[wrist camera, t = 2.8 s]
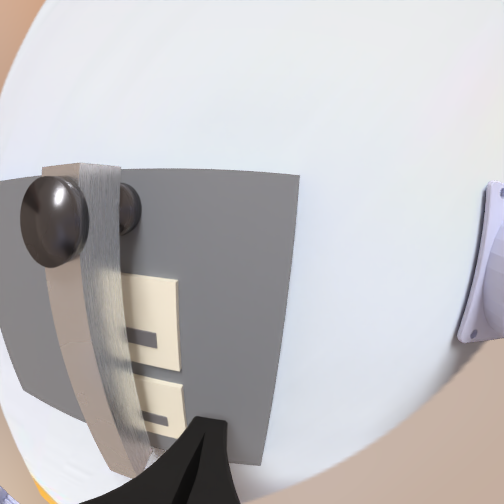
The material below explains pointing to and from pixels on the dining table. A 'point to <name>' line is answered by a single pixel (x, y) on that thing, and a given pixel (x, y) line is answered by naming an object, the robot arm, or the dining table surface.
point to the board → (189, 292)
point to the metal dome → (128, 209)
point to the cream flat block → (161, 406)
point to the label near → (152, 320)
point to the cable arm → (89, 301)
